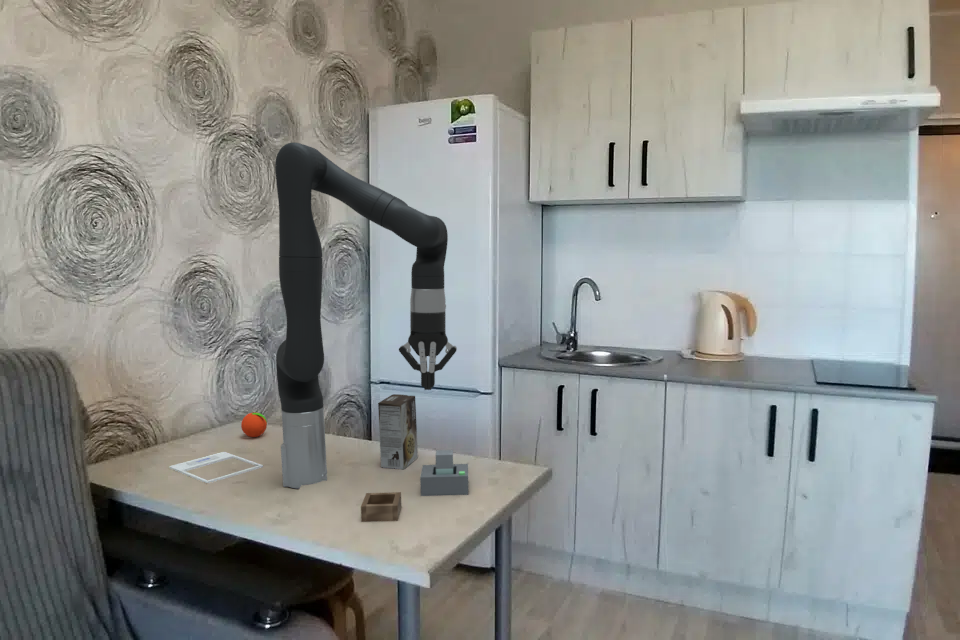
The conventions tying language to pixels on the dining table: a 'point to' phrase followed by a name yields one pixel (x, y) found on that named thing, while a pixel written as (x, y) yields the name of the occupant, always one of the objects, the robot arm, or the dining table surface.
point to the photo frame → (210, 460)
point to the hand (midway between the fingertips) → (428, 389)
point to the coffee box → (398, 431)
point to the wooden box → (381, 507)
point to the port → (444, 481)
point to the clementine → (254, 424)
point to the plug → (444, 462)
